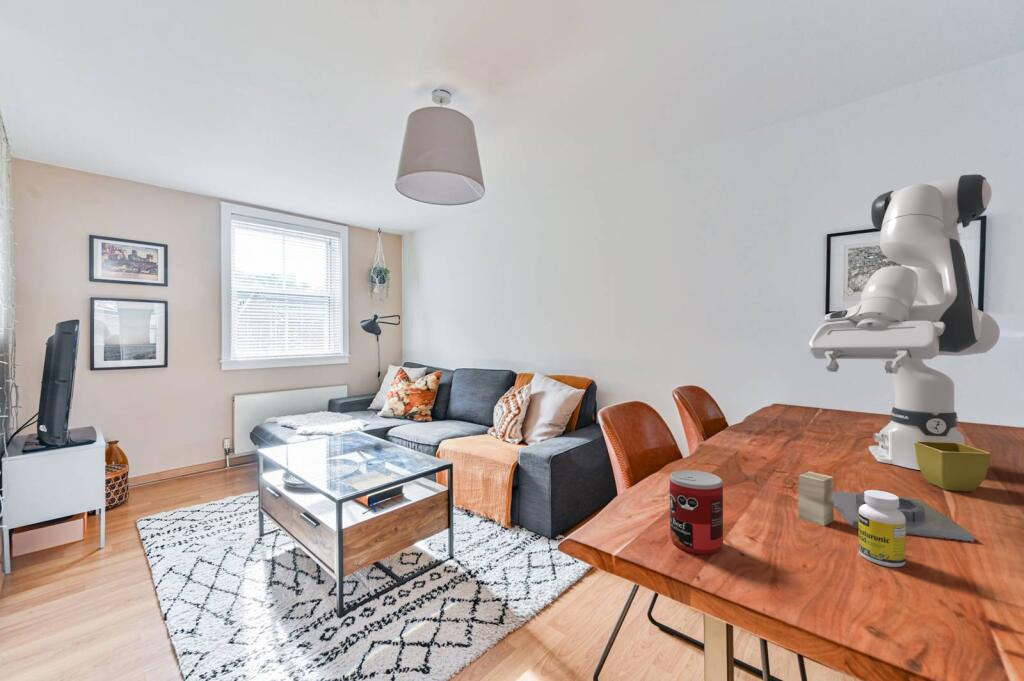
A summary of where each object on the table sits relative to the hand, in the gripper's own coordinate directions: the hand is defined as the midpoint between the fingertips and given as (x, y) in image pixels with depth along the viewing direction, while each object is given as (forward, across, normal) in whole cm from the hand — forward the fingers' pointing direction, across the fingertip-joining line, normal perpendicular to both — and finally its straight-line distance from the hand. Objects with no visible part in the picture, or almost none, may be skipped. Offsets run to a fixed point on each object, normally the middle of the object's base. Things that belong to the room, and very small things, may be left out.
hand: (859, 370), depth 84 cm
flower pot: (-3, -6, -39) cm, 40 cm away
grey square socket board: (+18, -4, -20) cm, 27 cm away
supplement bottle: (+33, -9, -6) cm, 35 cm away
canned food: (+47, +10, +7) cm, 48 cm away
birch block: (+28, +3, -11) cm, 30 cm away
